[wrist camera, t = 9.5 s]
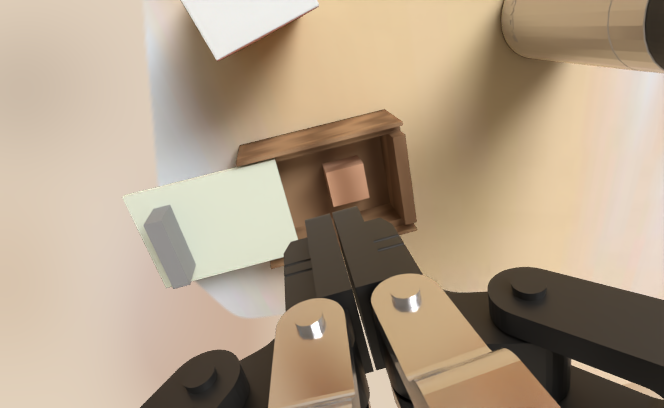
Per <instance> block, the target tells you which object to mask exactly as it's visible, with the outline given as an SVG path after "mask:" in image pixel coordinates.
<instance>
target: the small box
mask: <svg viewBox="0 0 664 408" xmlns="http://www.w3.org/2000/svg"><path fill="white" fill-rule="evenodd" d="M181 2H182V4H183V5H184V7H185V9H186V10H187V12H188V13H189V15H190V17H191V18H192V20H193V22H194V23H195V25H196V27H197V28H198V30H199V32H200V33H201V35H202V37H203V38H204V40H205V42H206V43H207V45H208V47H209V49H210V50H211V52H212V54H213V55H214V57H215V59H216V60H217V61H219V60H222V59H224V58H226V57H228V56H229V55H231V54H233V53H235V52H237V51H239V50H241V49H243V48H245V47H247V46H249V45H251V44H252V43H254V42H256V41H258V40H260V39H262V38H263V37H265V36H267V35H269V34H271V33H272V32H274V31H276V30H278V29H280V28H282V27H283V26H285V25H287V24H289V23H290V22H292V21H294V20H296V19H298V18H300V17H301V16H303V15H305V14H307V13H308V12H310V11H312V10H314V9H315V8H317V7H319V3H318V1H317V0H181Z"/></svg>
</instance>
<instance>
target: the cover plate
mask: <svg viewBox="0 0 664 408" xmlns="http://www.w3.org/2000/svg"><path fill="white" fill-rule="evenodd" d="M122 198H123V200H124V202H125V205H126V206H127V209H128V211H129V213H130V215H131V217H132V219H133V221H134V223H135V225H136V227H137V229H138V231H139V233H140V235H141V237H142V240H143V242H144V244H145V246H146V248H147V249H148V252H149V254H150V256H151V258H152V260H153V262H154V264H155V266H156V268H157V270H158V272H159V274H160V277H161V279H162V280H163V283H164V285H165V287H166V288H168V287H173V289H175V288H179V287H183V286H187V285H190V283H191V281H195V280H199V279H203V278H206V277H210V276H214V275H218V274H222V273H225V272H229V271H233V270H237V269H240V268H244V267H248V266H252V265H256V264H259V263H263V262H267V261H271V260H274V259H278V258H282V257H284V252H285V250H286V249H287V247H288V245H289V244H290V242H292V241H296V240H298V237H297V234H296V230H295V227H294V223H293V220H292V216H291V213H290V209H289V206H288V203H287V199H286V196H285V192H284V189H283V185H282V182H281V178H280V175H279V171H278V168H277V164H276V161H275V157H274V158H270V159H266V160H263V161H259V162H255V163H251V164H247V165H243V166H239V167H235V168H231V169H227V170H223V171H219V172H215V173H211V174H207V175H203V176H199V177H195V178H191V179H187V180H183V181H179V182H175V183H171V184H167V185H163V186H159V187H155V188H151V189H147V190H143V191H140V192H135V193H131V194H127V195H124V196H123V197H122Z"/></svg>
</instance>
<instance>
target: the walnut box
mask: <svg viewBox="0 0 664 408" xmlns="http://www.w3.org/2000/svg"><path fill="white" fill-rule="evenodd" d="M402 125H403V122H402V121H401V120H399V119H398V118H396V117H395V116H394V115H392V114H391V113H389V112H388V111H386V110H385V109H384V110H380V111H376V112H372V113H368V114H364V115H360V116H356V117H352V118H348V119H344V120H340V121H336V122H332V123H328V124H324V125H320V126H316V127H311V128H307V129H303V130H299V131H295V132H291V133H287V134H283V135H279V136H275V137H271V138H267V139H263V140H259V141H255V142H251V143H247V144H243V145H240V147H239V152H238V156H237V161H236V165H237V167H238V166H243V165H247V164H251V163H255V162H259V161H263V160H266V159H270V158H274V157H275V161H276V164H277V168H278V171H279V175H280V178H281V182H282V185H283V189H284V192H285V196H286V199H287V203H288V206H289V209H290V213H291V216H292V220H293V223H294V227H295V230H296V234H297V237H298V240H299V239H303V238H307V232H306V226H305V220H306V219H310V218H314V217H318V216H321V215H325V214H329V213H330V216H331V219H332V223H333V226H334V229H335V233H336V236H337V240H338V243H339V246H340V242H339V238H338V235H337V231H336V227H335V223H334V219H333V215H332V212H336V211H339V210H343V209H347V208H350V207H354V206H357V207H358V209H359V211H360V213H361V215H362V218H363V220H364V222H365V221H369V220H372V219H376V218H382V219H384V220H386V221H388V222H390V223H391V224H393V226H394V227H395V229H396V231H397V232H398V234H399V235H401V234H405V233H409V232H413V231H416V230H417V227H416V226H415V225H414V222H417V220H416V213H415V205H414V198H413V190H412V183H411V175H410V168H409V160H408V153H407V145H406V138H405V134H404V133H402V132H401V131H400V126H402ZM340 250H341V246H340ZM281 266H284V257H282V258H278V259H274V260H271V261H270V267H271V269H273V268H277V267H281Z"/></svg>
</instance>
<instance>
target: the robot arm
mask: <svg viewBox="0 0 664 408" xmlns="http://www.w3.org/2000/svg"><path fill="white" fill-rule="evenodd" d="M501 24H502V32H503V35H504V38H505V40H506V42H507V44H508V45H509V47H510V48H511V49H512V50H513V51H514V52H515V53H517V54H519V55H521V56H522V57H527V58H531V59H540V60H549V61H556V62H565V63H574V64H583V65H592V66H601V67H610V68H619V69H628V70H637V71H645V72H656V73H664V0H505V1H504V5H503V9H502V17H501ZM332 215H333V219H334V223H335V227H336V231H337V235H338V238H339V242H340V246H341V250H342V253H341V250H340V246H339V243H338V240H337V236H336V233H335V229H334V226H333V223H332V219H331V216H330V213H329V214H325V215H321V216H318V217H314V218H310V219H306V220H305V226H306V232H307V238H303V239H299V240H296V241H292V242H290V244H289V245H288V247H287V249H286V250H285V252H284V276H285V278H284V279H285V305H286V312H285V313H284V314H283V315H282V317H281V318H280V320H279V321H278V324H277V326H276V334H275V339H273V341H271V342H270V343H269V344H268V345H267V346H265V347H264V348H262V349H260V350H259V351H257V352H255V353H253V354H251V355H250V356H248V357H246V358H244V359H242V360H241V361H239V360H238V358H237V357H236V355H234V354H233V353H232V352H229V351H226V350H212V351H208V352H205V353H202V354H200V355H198V356H196V357H194V358H192V359H190V360H189V361H187V362H186V363H185V364H183V365H182V366H181V367H180V368H179V369H178V370H177V371H176V372H175V373H174V374H173V375H172V376H171V377H170V378H169V379H168V380H167V381H166V382H165V383H164V384H163V385H162V386H161V387H160V388H159V389H158V390H157V391H156V392H155V393H154V394H153V395H152V396H151V397H150V398H149V399H148V400H147V401H146V402H145V403H144V404H143V405H142V406H141V407H140V408H371V406H370V402H369V396H370V392H369V387H368V383H367V379H366V375H365V374H366V373H369V372H373V367H372V363H371V359H370V356H369V352H368V348H367V344H366V341H365V337H364V333H363V329H362V325H361V321H360V318H359V314H358V310H359V313H360V316H361V320H362V323H363V327H364V330H365V333H366V336H367V340H368V343H369V347H370V350H371V354H372V357H373V360H374V363H375V367H376V370H379V369H383V368H386V370H387V373H388V376H389V379H390V383H391V387H392V391H393V395H394V399H395V402H396V404H397V407H398V408H664V400H661V399H657V398H653V397H650V396H648V395H645V394H642V393H640V392H638V391H635V390H633V389H630V388H628V387H625V386H623V385H620V384H617V383H615V382H612V381H610V380H607V379H605V378H602V377H600V376H597V375H595V374H592V373H590V372H587V371H585V370H582V369H579V368H577V367H574V366H572V365H571V359H573V360H576V361H578V362H581V363H584V364H586V365H589V366H591V367H594V368H597V369H599V370H602V371H604V372H607V373H610V374H612V375H615V376H617V377H620V378H623V379H625V380H628V381H630V382H633V383H636V384H638V385H641V386H643V387H646V388H648V389H650V390H652V391H654V392H655V393H657V394H658V395H660V396H661V397H662V398H664V300H661V299H657V298H653V297H649V296H646V295H642V294H638V293H634V292H630V291H626V290H622V289H618V288H614V287H610V286H606V285H602V284H598V283H595V282H591V281H587V280H583V279H579V278H575V277H571V276H567V275H563V274H559V273H555V272H551V271H547V270H543V269H539V268H531V267H519V268H512V269H508V270H505V271H502V272H500V273H498V274H497V275H495V276H494V277H493V278H492V279H491V280H490V282H489V284H488V292H471V293H457V292H450V291H445V290H443V289H442V288H441V287H440V286H439V284H438V283H437V282H436V281H434V280H433V279H431V278H429V277H427V276H424V275H423V274H422V273H421V271H420V269H419V268H418V266H417V264H416V263H415V261H414V259H413V258H412V256H411V254H410V253H409V251H408V249H407V248H406V246H405V245H404V243H403V241H402V239H401V237H400V236H399V234H398V232H397V231H396V229H395V227H394V226H393V224H391V223H390V222H388V221H386V220H384V219H382V218H376V219H372V220H369V221H365V222H364V220H363V218H362V215H361V213H360V211H359V209H358V207H357V206H354V207H350V208H347V209H343V210H339V211H336V212H332ZM342 254H343V257H344V260H343V257H342ZM344 261H345V263H344ZM345 265H346V267H345ZM346 269H347V270H346ZM347 272H348V273H347ZM348 276H349V277H348ZM349 279H350V280H349ZM350 283H351V284H350ZM351 286H352V287H351ZM352 290H353V291H352ZM353 293H354V294H353ZM354 296H355V298H354ZM355 300H356V302H355ZM356 303H357V306H358V310H357V306H356Z"/></svg>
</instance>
